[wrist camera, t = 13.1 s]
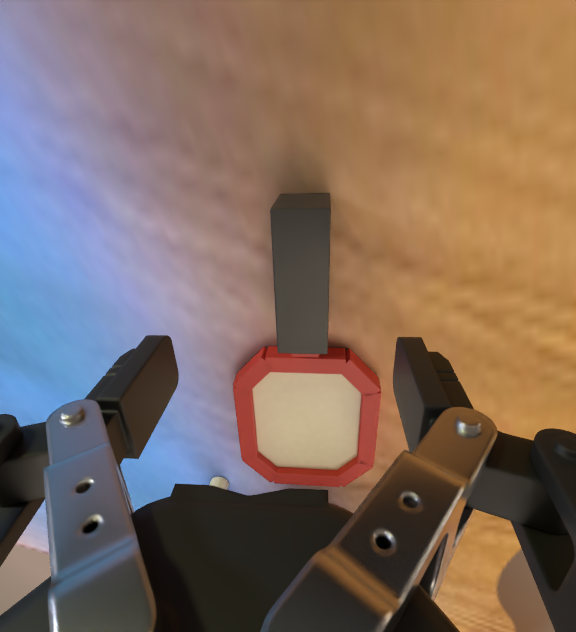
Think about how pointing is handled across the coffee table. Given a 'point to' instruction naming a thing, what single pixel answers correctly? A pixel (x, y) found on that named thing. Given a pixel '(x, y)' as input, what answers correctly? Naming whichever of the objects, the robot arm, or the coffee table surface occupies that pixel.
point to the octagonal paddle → (305, 367)
